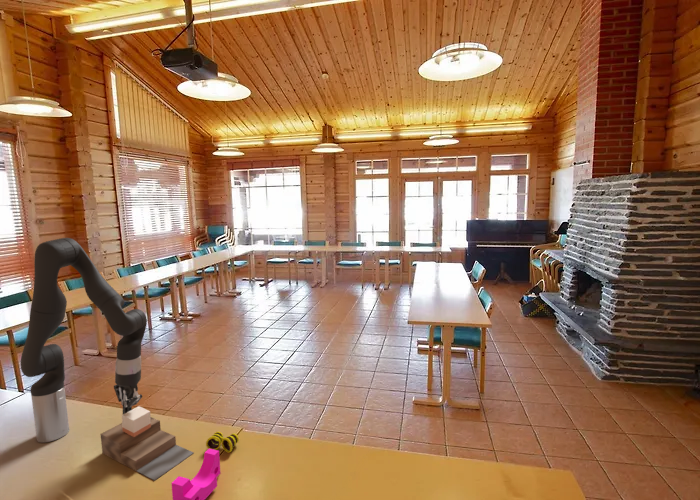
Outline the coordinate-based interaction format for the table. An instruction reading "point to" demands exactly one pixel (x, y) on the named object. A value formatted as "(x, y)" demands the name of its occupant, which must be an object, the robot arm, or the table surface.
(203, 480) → the magenta clamp bracket
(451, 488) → the table surface
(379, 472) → the table surface
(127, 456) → the stair block
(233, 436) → the opera glasses
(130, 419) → the cube
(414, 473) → the table surface
